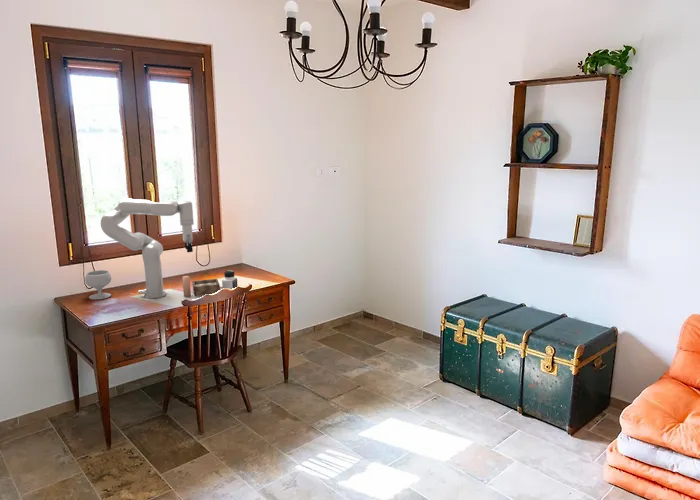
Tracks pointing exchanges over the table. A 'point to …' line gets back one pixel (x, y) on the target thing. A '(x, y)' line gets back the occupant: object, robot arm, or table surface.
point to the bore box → (205, 287)
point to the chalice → (98, 282)
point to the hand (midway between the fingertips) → (189, 250)
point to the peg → (186, 286)
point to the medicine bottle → (229, 280)
